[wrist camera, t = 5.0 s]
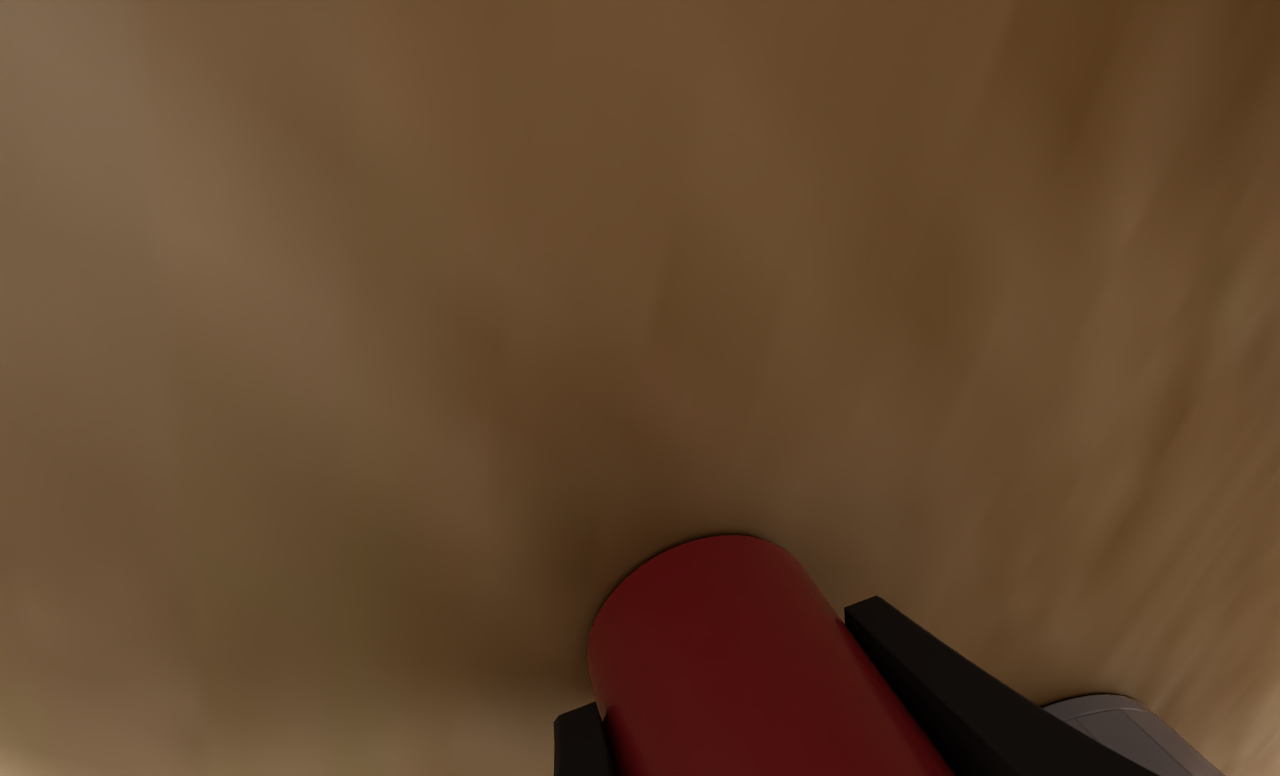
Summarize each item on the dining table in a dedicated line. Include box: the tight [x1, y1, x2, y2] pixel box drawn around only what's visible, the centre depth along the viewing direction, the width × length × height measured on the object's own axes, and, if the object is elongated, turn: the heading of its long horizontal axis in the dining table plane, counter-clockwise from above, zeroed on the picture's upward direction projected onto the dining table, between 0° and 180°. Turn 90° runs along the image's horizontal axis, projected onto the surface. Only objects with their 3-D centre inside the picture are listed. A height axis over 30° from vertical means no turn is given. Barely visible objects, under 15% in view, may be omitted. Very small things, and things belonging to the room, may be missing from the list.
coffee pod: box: [587, 535, 956, 776], centre depth 10 cm, size 4×4×5 cm
